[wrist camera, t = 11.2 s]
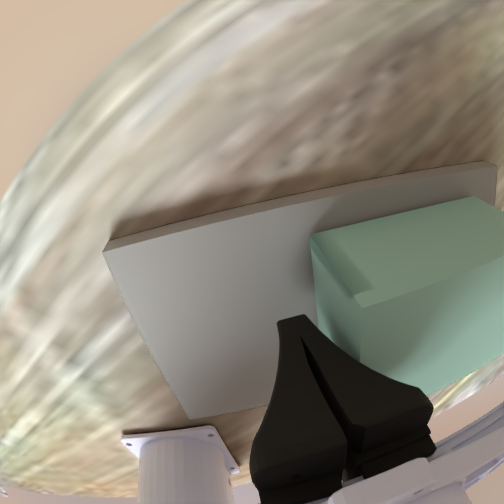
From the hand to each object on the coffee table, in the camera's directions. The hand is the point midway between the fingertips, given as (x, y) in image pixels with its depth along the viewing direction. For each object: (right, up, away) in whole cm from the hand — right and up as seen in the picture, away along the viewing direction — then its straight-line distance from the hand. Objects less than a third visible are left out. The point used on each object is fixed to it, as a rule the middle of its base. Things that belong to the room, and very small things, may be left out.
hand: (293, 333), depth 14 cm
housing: (+6, +2, +2) cm, 7 cm away
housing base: (+3, +1, +4) cm, 5 cm away
